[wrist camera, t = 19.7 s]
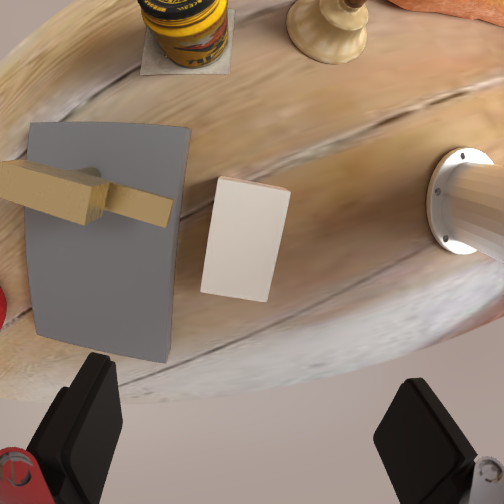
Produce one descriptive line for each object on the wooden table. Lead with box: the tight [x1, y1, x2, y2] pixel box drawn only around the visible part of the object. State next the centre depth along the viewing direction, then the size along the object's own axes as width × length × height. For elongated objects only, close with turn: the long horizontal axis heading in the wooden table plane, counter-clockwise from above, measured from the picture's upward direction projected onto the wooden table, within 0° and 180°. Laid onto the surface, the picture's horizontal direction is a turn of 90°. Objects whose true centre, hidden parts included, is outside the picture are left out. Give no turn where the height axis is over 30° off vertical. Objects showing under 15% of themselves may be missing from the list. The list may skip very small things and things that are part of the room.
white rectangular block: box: [200, 176, 291, 302], centre depth 29 cm, size 6×10×4 cm, turn 169°
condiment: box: [138, 0, 235, 76], centre depth 19 cm, size 7×8×12 cm
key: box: [0, 159, 175, 228], centre depth 21 cm, size 2×12×9 cm, turn 72°
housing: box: [25, 122, 191, 363], centre depth 28 cm, size 16×23×3 cm
